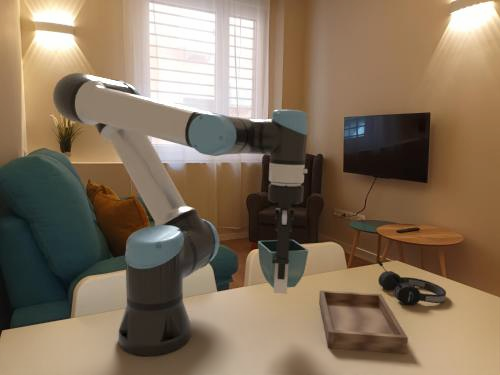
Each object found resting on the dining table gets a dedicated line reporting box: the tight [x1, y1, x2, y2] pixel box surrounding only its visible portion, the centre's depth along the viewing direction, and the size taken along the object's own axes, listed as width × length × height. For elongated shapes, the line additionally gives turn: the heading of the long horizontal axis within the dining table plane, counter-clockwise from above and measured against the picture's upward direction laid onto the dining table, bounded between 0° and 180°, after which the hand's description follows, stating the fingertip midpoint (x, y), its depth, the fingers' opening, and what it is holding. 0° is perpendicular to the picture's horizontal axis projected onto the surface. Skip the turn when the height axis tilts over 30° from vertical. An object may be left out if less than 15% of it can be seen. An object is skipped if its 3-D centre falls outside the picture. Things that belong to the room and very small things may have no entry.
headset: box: [377, 260, 447, 306], centre depth 106 cm, size 14×10×20 cm
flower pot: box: [257, 239, 309, 289], centre depth 83 cm, size 9×9×9 cm
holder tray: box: [318, 289, 409, 355], centre depth 88 cm, size 16×22×4 cm
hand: (280, 282), depth 83 cm, fingers closed on flower pot, 10 cm apart
